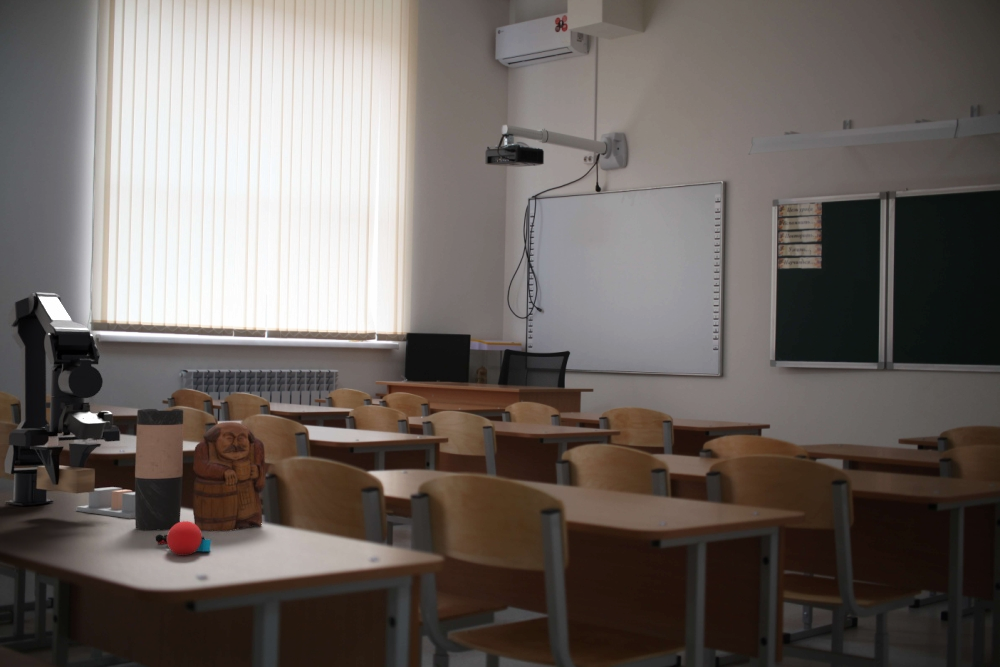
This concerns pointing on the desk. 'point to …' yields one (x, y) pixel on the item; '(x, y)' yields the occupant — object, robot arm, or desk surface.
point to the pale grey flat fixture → (111, 502)
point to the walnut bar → (67, 479)
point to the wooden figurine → (228, 478)
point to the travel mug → (158, 469)
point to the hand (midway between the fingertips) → (65, 483)
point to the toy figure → (184, 539)
